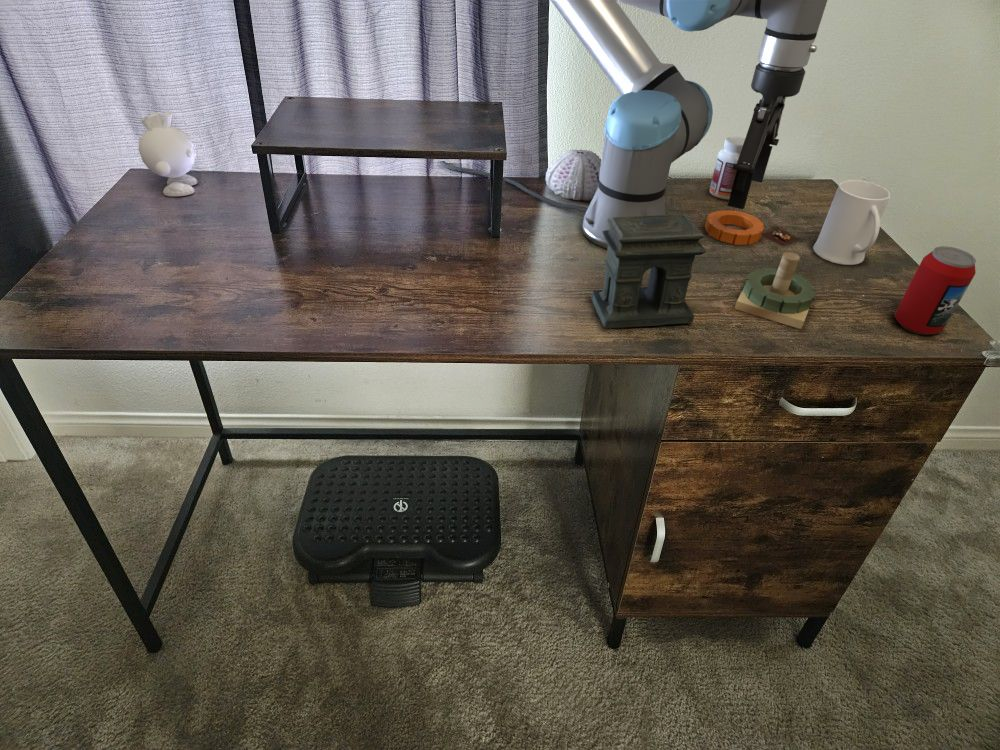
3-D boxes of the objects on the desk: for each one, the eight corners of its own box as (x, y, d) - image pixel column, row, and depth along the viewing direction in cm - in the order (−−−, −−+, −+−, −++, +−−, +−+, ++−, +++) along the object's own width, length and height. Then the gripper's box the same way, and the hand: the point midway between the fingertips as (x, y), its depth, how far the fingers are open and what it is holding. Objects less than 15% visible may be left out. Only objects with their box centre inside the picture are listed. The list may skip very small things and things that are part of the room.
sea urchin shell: (609, 180, 137) (614, 142, 132) (609, 207, 127) (616, 168, 122) (546, 175, 138) (549, 137, 133) (542, 202, 128) (545, 162, 122)
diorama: (782, 243, 118) (785, 232, 116) (765, 234, 120) (769, 224, 119) (792, 239, 119) (796, 228, 118) (776, 231, 121) (779, 220, 120)
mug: (879, 276, 110) (910, 210, 102) (829, 274, 110) (856, 208, 102) (852, 242, 119) (879, 180, 111) (806, 240, 119) (829, 177, 111)
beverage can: (939, 343, 95) (981, 272, 87) (889, 328, 98) (925, 258, 90) (942, 322, 100) (982, 252, 92) (895, 308, 102) (930, 239, 94)
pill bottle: (745, 194, 134) (760, 141, 127) (729, 203, 130) (744, 148, 123) (718, 185, 137) (732, 132, 130) (702, 193, 133) (715, 139, 126)
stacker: (734, 309, 100) (749, 260, 95) (749, 280, 107) (765, 234, 102) (801, 329, 97) (820, 280, 91) (812, 298, 103) (831, 251, 98)
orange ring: (698, 235, 119) (701, 225, 118) (713, 215, 126) (716, 205, 124) (753, 250, 115) (756, 240, 114) (766, 228, 122) (769, 218, 121)
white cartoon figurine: (200, 206, 121) (178, 126, 112) (145, 209, 119) (118, 128, 110) (209, 174, 132) (190, 98, 123) (159, 176, 131) (135, 100, 121)
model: (671, 293, 103) (692, 205, 94) (693, 326, 96) (718, 234, 87) (588, 298, 101) (600, 209, 92) (604, 332, 94) (620, 239, 85)
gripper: (790, 88, 92) (749, 225, 106) (819, 52, 109) (781, 174, 123) (737, 79, 95) (704, 213, 108) (774, 46, 112) (741, 166, 125)
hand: (745, 193), depth 116 cm, fingers open, 13 cm apart
